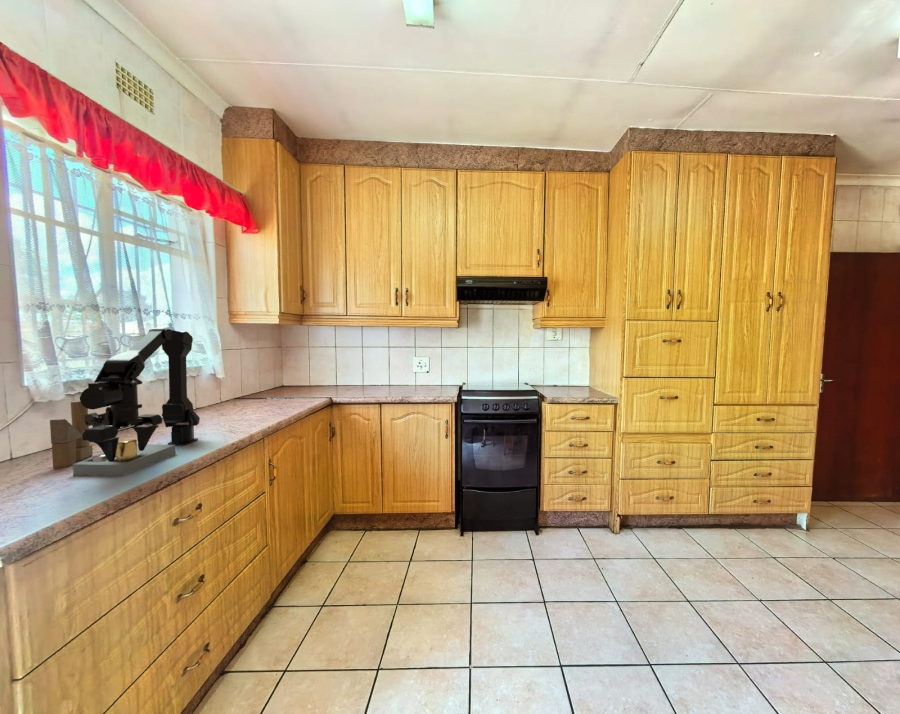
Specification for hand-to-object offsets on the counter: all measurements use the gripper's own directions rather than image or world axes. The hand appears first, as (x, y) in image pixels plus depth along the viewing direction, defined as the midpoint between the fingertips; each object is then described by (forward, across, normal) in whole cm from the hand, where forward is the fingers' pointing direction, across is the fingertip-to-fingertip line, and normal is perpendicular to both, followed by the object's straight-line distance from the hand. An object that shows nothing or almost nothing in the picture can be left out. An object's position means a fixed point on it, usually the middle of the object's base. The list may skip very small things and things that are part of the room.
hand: (127, 455), depth 101 cm
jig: (+4, -4, -4) cm, 7 cm away
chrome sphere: (+4, 0, -7) cm, 8 cm away
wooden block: (+4, -5, -22) cm, 22 cm away
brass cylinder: (+4, 0, 0) cm, 4 cm away
